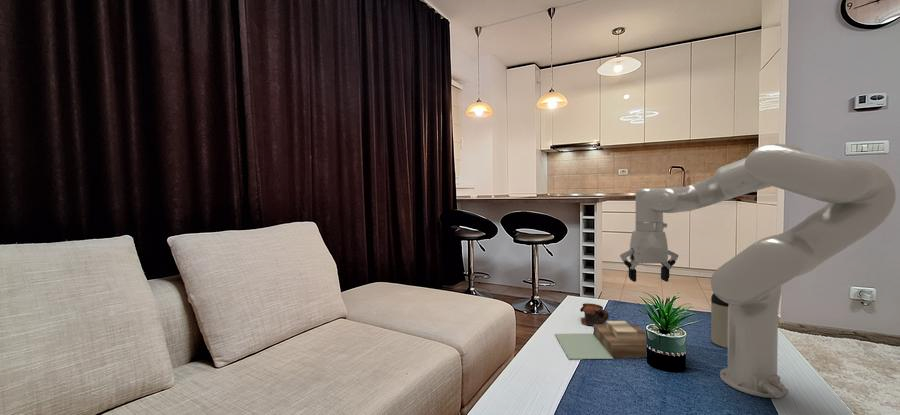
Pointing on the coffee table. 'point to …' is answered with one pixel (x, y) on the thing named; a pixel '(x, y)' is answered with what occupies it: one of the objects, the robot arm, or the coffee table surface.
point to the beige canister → (719, 321)
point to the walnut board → (621, 342)
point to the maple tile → (621, 330)
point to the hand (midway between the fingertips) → (648, 280)
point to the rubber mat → (582, 346)
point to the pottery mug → (593, 314)
